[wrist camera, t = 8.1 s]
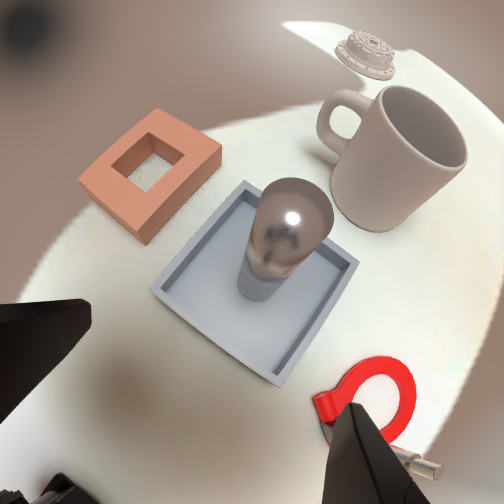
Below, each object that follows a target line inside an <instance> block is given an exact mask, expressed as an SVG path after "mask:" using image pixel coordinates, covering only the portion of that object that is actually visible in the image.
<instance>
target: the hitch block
mask: <svg viewBox="0 0 504 504" xmlns="http://www.w3.org/2000/svg"><path fill="white" fill-rule="evenodd" d="M153 152H155V153H156V154H158V155H159V156H161V157H162V158H164V159H165V160H167V161H168V162H170V163H171V164H173V165H174V166H173V167H172V168H171V169H170V170H169V171H168V172H167V173H166V174H165V175H164V176H163V177H162V178H161V179H160V180H158V181H157V182H156V183H155V184H154V185H153V186H152V187H151V189H150V190H149V191H148V192H147V193H145V192H143V191H142V190H141V189H140V188H138V187H137V186H136V185H134V184H133V183H132V182H130V181H129V180H128V179H127V177H128V176H129V175H130V174H131V173H132V172H133V171H134V170H135V169H136V168H137V167H138V166H139V165H140V164H141V163H142V162H143V161H144V160H145V159H146V158H148V157H149V156H150V155H151V154H152V153H153ZM221 160H222V145H221V144H220V143H218V142H216V141H215V140H213V139H211V138H210V137H208V136H206V135H205V134H203V133H201V132H199V131H198V130H196V129H194V128H192V127H191V126H189V125H187V124H186V123H184V122H182V121H180V120H178V119H177V118H175V117H173V116H171V115H169V114H168V113H166V112H164V111H162V110H160V109H158V108H157V109H155V110H154V111H153V112H152V113H150V114H149V115H148V116H146V117H145V118H144V119H143V120H142V121H140V122H139V123H138V124H137V125H135V126H134V127H133V128H132V129H131V130H129V131H128V132H127V133H126V134H125V135H124V136H123V137H121V138H120V139H119V140H118V141H117V142H116V143H114V145H112V146H111V147H110V148H109V149H108V150H107V151H106V152H105V153H104V154H103V155H101V156H100V158H98V159H97V160H96V161H95V162H94V163H93V164H92V165H91V166H90V167H89V168H88V169H87V170H86V171H85V172H84V173H83V174H82V175H81V176H80V177H79V178H78V181H79V182H80V184H81V185H82V186H83V188H84V189H85V191H86V192H87V194H88V195H89V196H90V197H91V198H92V199H93V200H94V201H95V202H96V203H97V204H99V205H100V206H101V207H102V208H103V209H104V210H105V211H106V212H108V213H109V214H110V215H111V216H112V217H113V218H114V219H115V220H117V221H118V222H119V223H120V224H121V225H122V226H123V227H125V228H126V229H127V230H128V231H129V232H130V233H132V234H133V235H134V236H135V237H136V238H137V239H139V240H140V241H141V242H142V243H143V244H145V245H147V244H148V243H149V241H150V240H151V239H152V238H153V237H154V236H155V235H156V234H157V232H158V231H159V230H160V229H161V228H162V227H163V226H164V225H165V224H166V222H167V221H168V220H169V219H170V218H171V217H172V216H173V215H174V214H175V213H176V211H177V210H178V209H179V208H180V207H181V206H182V205H183V204H184V203H185V202H186V201H187V200H188V199H189V198H190V197H191V196H192V195H193V193H194V192H195V191H196V190H197V189H198V188H199V187H200V186H201V185H202V184H203V183H204V182H205V181H206V180H207V179H208V178H209V177H210V176H211V175H212V174H213V173H214V172H215V171H216V170H217V169H218V168H219V167H220V166H221Z"/></svg>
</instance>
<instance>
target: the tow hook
mask: <svg viewBox="0 0 504 504" xmlns="http://www.w3.org/2000/svg"><path fill="white" fill-rule="evenodd" d="M377 374H385V375H388V376H390V377H391V378H392V379H394V381H395V382H396V384H397V385H398V388H399V391H400V404H399V408H398V411H397V414H396V415H395V417H394V419H393V420H392V421H391V423H390V424H389V425H388V426H387V427H385V428H384V429H382V430H381V431H380V432H381V434H382V435H383V437H384V438H385V440H386V441H387V442H388V444H389V445H390V447H391V448H392V450H393V451H394V453H395V454H396V456H397V457H398V458H399V460H400V461H401V463H402V464H403V466H404V467H405V469H406V470H407V472H408V473H409V474H410V473H412V472H414V473H417V474H419V475H422V476H424V477H427V478H429V479H432V480H438V479H439V478H440V477H441V476H442V475H443V473H444V467H443V466H441V465H437V464H434V463H431V462H428V461H425V460H422V459H421V456H420V455H419V454H417V453H414V452H411V451H408V450H405V449H402V448H399V447H396V446H394V445H391V444H390V443H391V442H393V441H394V440H395V439H397V438H398V436H399V435H400V434H401V433H402V432H403V431H404V430H405V428H406V427H407V425H408V423H409V421H410V420H411V418H412V415H413V412H414V409H415V404H416V396H417V395H416V384H415V381H414V378H413V375H412V373H411V372H410V370H409V369H408V368H407V366H406V365H405V364H403V363H402V362H401V361H399V360H398V359H395V358H392V357H384V356H377V357H372V358H368V359H365V360H363V361H361V362H360V363H358V364H356V365H355V366H353V367H352V368H351V369H350V370H349V371H348V372H347V373H346V374H345V375H344V377H343V378H342V380H341V381H340V383H339V384H338V386H337V388H336V389H334V390H332V391H326V392H322V393H319V394H317V395H316V396H314V397H313V399H314V402H315V405H316V408H317V410H318V413H319V416H320V418H321V425H322V427H323V430H324V433H325V436H326V438H327V441H328V443H330V445H331V441H332V436H333V431H334V426H335V422H336V420H337V418H338V417H339V414H340V413H341V412H342V410H343V409H344V407H345V406H346V404H347V403H348V402H352V400H353V398H354V395H355V393H356V391H357V390H358V388H359V387H360V386H361V385H362V384H363V383H364V382H365V380H367V379H369V378H370V377H372V376H374V375H377Z"/></svg>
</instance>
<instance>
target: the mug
mask: <svg viewBox="0 0 504 504" xmlns="http://www.w3.org/2000/svg"><path fill="white" fill-rule="evenodd" d="M339 105H343V106H346V107H348V108H350V109H352V110H353V111H354V112H356V113H357V114H358V115H359V116H360V118H361V119H362V121H361V124H360V126H359V128H358V130H357V131H356V133H355V135H354V136H353V138H352V139H345V138H343V137H341V136H339V135H337V134H336V133H335V132H334V131H333V130H332V129H331V127H330V124H329V120H330V116H331V113H332V111H333V110H334V108H335V107H337V106H339ZM316 130H317V135H318V137H319V139H320V140H321V142H322V143H323V144H324V145H326V146H327V147H328V148H330V149H331V150H332V151H334V152H335V153H337V154H338V155H339V156H340V159H339V161H338V162H337V164H336V166H335V168H334V169H333V172H332V175H331V180H330V186H331V192H332V196H333V198H334V201H335V202H336V204H337V206H338V208H339V209H340V211H341V212H342V213H343V214H344V215H345V216H346V217H347V218H348V219H349V220H350V221H351V222H353V223H354V224H356V225H357V226H359V227H361V228H363V229H366V230H369V231H373V232H384V231H388V230H390V229H393V228H394V227H396V226H397V225H399V224H400V223H401V222H402V221H403V220H405V219H406V218H407V217H408V216H409V215H410V214H412V213H413V212H414V211H415V210H416V209H417V208H419V207H420V206H421V205H422V204H424V203H425V202H426V201H427V200H428V199H429V198H431V197H432V196H433V195H434V194H435V193H437V192H438V191H439V190H440V189H441V188H442V187H444V186H445V185H446V184H447V183H448V182H449V181H450V180H452V179H453V178H454V177H455V176H456V175H457V174H458V173H459V172H460V171H461V170H462V169H463V168H464V167H465V165H466V163H467V159H468V152H467V146H466V143H465V140H464V138H463V136H462V134H461V132H460V130H459V128H458V127H457V125H456V124H455V123H454V121H453V120H452V119H451V117H450V116H449V115H448V114H447V113H446V112H445V111H444V110H443V109H442V108H441V107H440V106H439V105H438V104H436V103H435V102H434V101H433V100H431V99H430V98H428V97H427V96H425V95H424V94H422V93H420V92H418V91H416V90H414V89H411V88H408V87H405V86H399V85H392V86H387V87H385V88H383V89H382V90H381V91H380V92H379V94H378V95H377V97H376V98H375V99H374V100H372V99H370V98H368V97H366V96H364V95H362V94H359V93H357V92H355V91H352V90H348V89H340V90H337V91H335V92H334V93H332V94H331V95H330V96H329V97H328V98H327V99H326V101H325V102H324V104H323V105H322V108H321V110H320V112H319V115H318V119H317V126H316Z"/></svg>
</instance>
